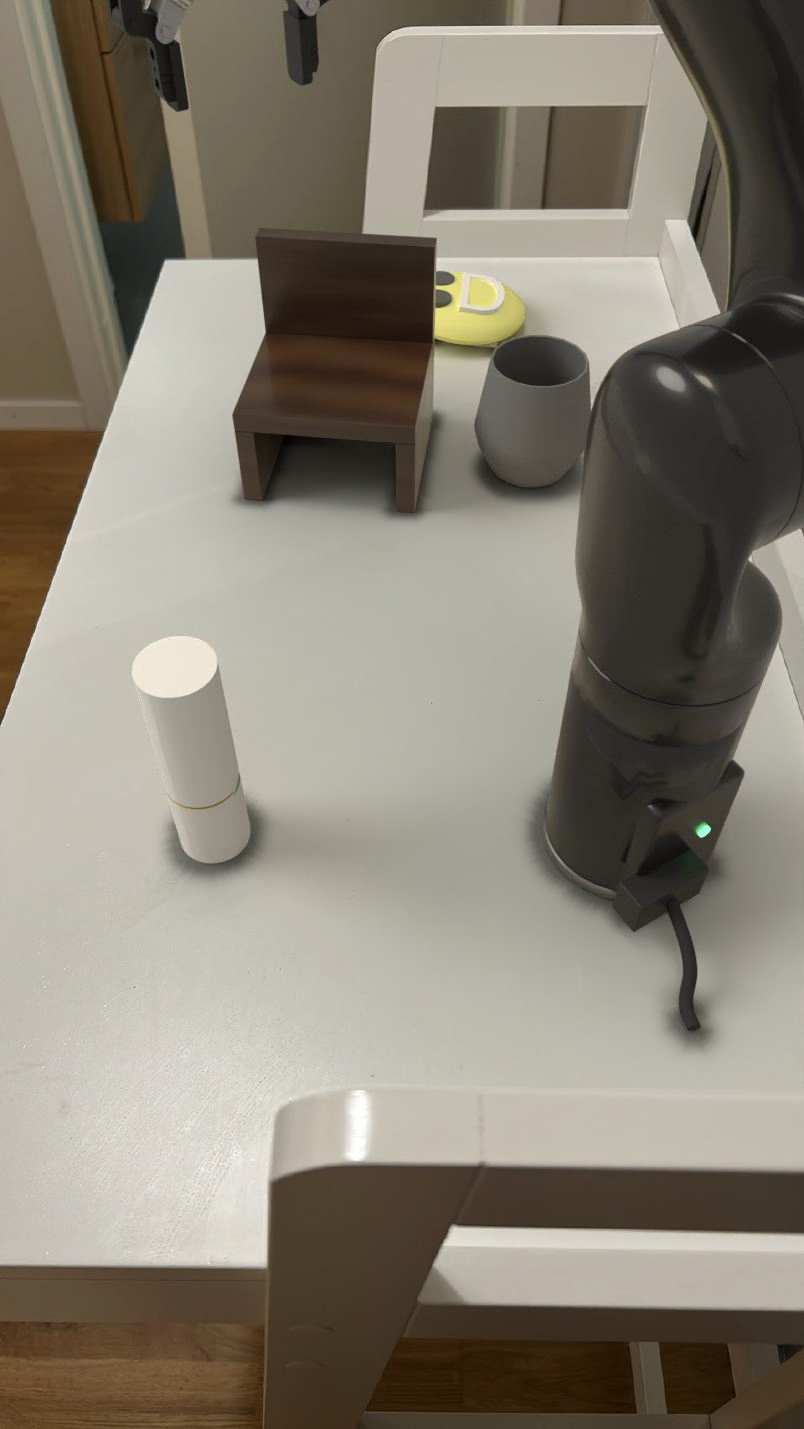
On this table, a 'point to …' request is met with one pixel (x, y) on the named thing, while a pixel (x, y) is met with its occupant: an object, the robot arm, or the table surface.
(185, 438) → the table surface
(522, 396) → the cup
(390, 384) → the wooden doll chair
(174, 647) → the tube
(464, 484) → the table surface
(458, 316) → the emoji
